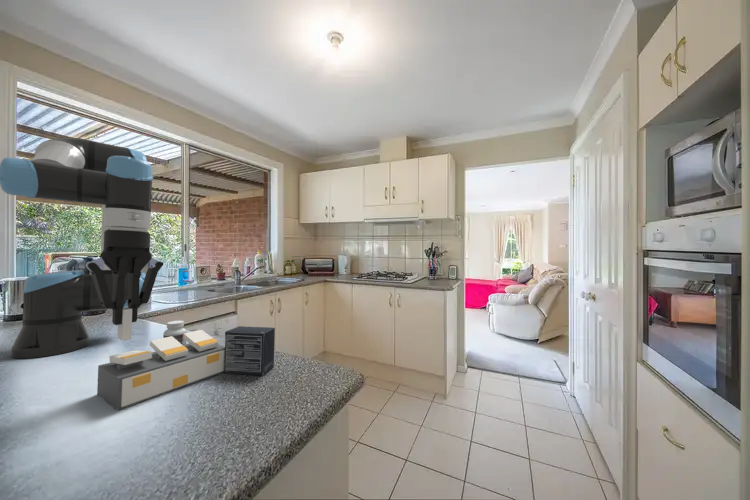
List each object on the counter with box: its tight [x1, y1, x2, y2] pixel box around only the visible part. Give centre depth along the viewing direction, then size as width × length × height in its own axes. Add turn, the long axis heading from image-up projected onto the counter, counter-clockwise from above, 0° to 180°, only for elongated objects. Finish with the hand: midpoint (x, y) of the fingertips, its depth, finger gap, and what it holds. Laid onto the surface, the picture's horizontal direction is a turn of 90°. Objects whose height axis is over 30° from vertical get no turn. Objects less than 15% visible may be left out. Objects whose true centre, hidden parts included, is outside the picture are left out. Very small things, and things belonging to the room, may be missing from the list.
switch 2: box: [149, 336, 188, 361], centre depth 64 cm, size 8×4×1 cm, turn 59°
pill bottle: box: [162, 320, 187, 345], centre depth 80 cm, size 5×5×10 cm
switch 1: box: [109, 349, 153, 365], centre depth 58 cm, size 8×4×1 cm, turn 60°
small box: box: [223, 325, 276, 377], centre depth 72 cm, size 11×6×10 cm, turn 84°
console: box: [96, 343, 225, 411], centre depth 64 cm, size 11×21×7 cm, turn 149°
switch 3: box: [183, 329, 219, 352], centre depth 70 cm, size 8×4×1 cm, turn 59°
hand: (124, 338), depth 60 cm, fingers closed
